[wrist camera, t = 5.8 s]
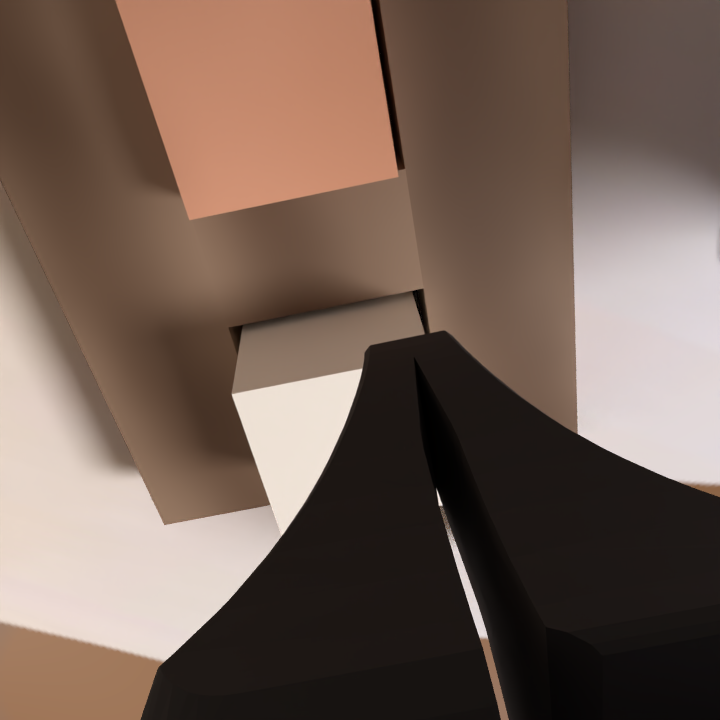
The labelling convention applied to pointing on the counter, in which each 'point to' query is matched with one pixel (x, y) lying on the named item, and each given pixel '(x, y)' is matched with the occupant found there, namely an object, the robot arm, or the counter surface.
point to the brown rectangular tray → (294, 224)
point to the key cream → (308, 388)
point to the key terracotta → (263, 97)
